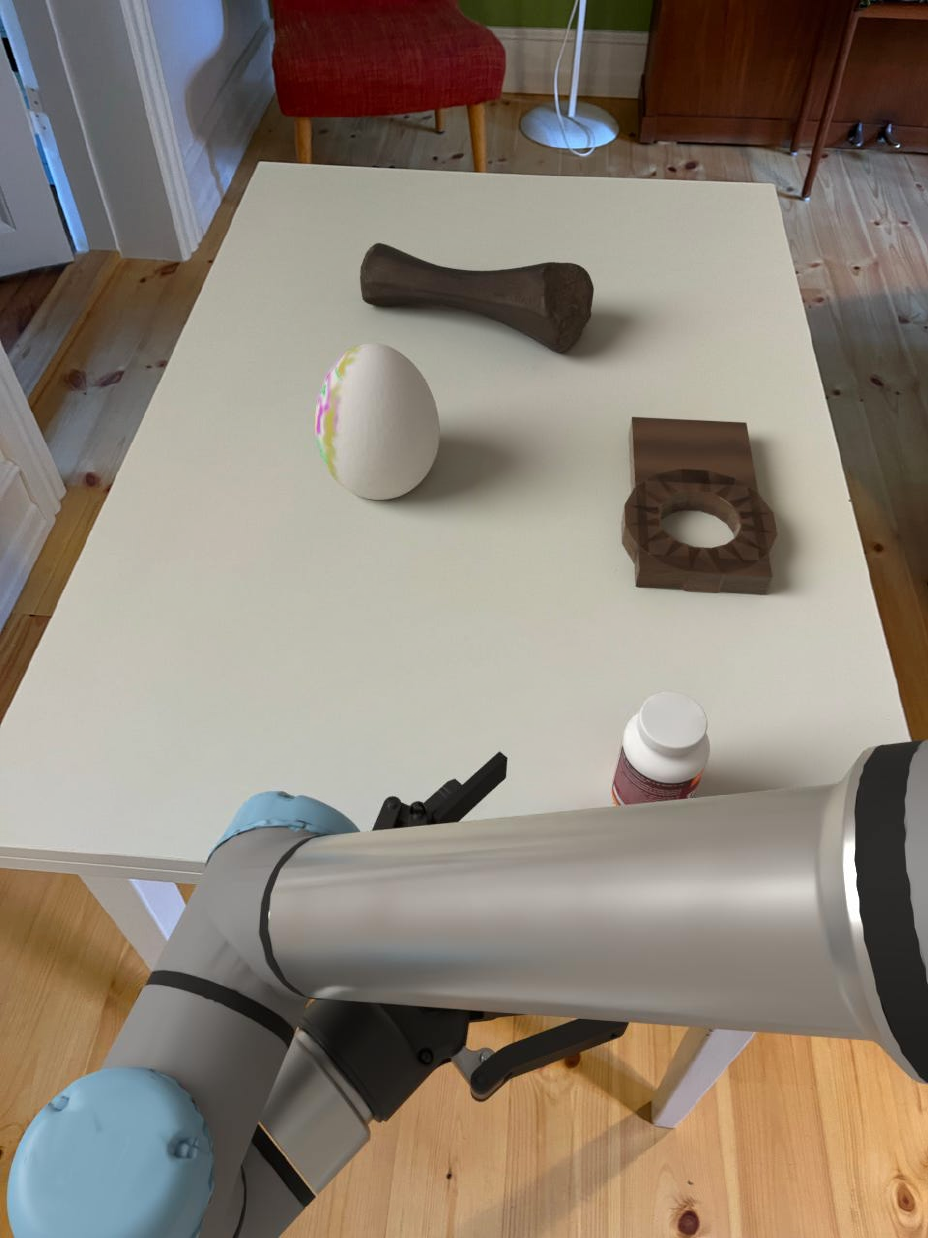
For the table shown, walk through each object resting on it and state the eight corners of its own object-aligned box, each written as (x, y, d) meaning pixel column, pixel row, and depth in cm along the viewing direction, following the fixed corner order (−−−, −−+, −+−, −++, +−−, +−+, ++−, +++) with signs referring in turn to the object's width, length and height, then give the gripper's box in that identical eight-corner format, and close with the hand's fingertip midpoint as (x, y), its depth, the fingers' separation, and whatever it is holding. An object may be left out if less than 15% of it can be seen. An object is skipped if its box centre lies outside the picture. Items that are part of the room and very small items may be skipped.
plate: (778, 596, 86) (786, 578, 84) (623, 587, 86) (626, 569, 84) (751, 441, 100) (757, 422, 98) (618, 434, 100) (621, 415, 98)
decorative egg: (356, 424, 102) (341, 301, 90) (459, 452, 99) (457, 328, 87) (301, 495, 94) (278, 371, 83) (410, 528, 91) (402, 404, 80)
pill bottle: (692, 837, 70) (722, 762, 62) (610, 830, 71) (629, 754, 62) (687, 766, 74) (715, 686, 66) (609, 760, 75) (627, 679, 66)
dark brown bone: (592, 351, 113) (386, 329, 122) (602, 259, 110) (389, 243, 119) (567, 357, 104) (346, 333, 113) (578, 257, 100) (348, 240, 109)
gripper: (214, 944, 60) (445, 744, 70) (494, 1273, 49) (724, 980, 59) (187, 898, 54) (444, 686, 64) (499, 1258, 43) (752, 936, 53)
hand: (578, 826), depth 61 cm, fingers open, 13 cm apart
